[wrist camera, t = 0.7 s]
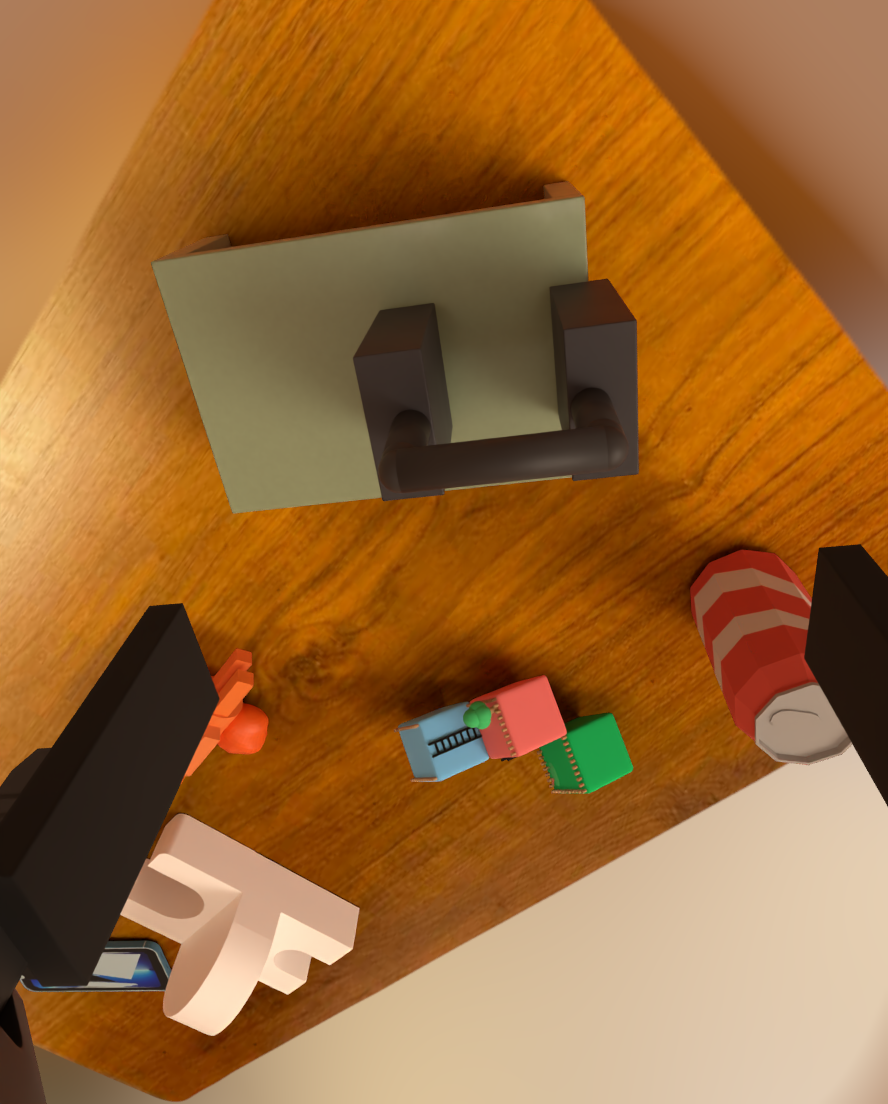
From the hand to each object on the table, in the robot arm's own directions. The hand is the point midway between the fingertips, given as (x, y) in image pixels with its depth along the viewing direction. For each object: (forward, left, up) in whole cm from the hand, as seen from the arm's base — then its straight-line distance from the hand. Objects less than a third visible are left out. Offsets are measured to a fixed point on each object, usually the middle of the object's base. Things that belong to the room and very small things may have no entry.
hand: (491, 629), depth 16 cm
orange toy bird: (+24, -22, -27) cm, 42 cm away
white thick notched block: (+45, -27, -27) cm, 59 cm away
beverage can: (+18, +13, -27) cm, 35 cm away
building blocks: (+27, -2, -27) cm, 38 cm away
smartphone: (+55, -45, -26) cm, 76 cm away
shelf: (0, -5, -26) cm, 27 cm away
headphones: (0, 0, -19) cm, 19 cm away
